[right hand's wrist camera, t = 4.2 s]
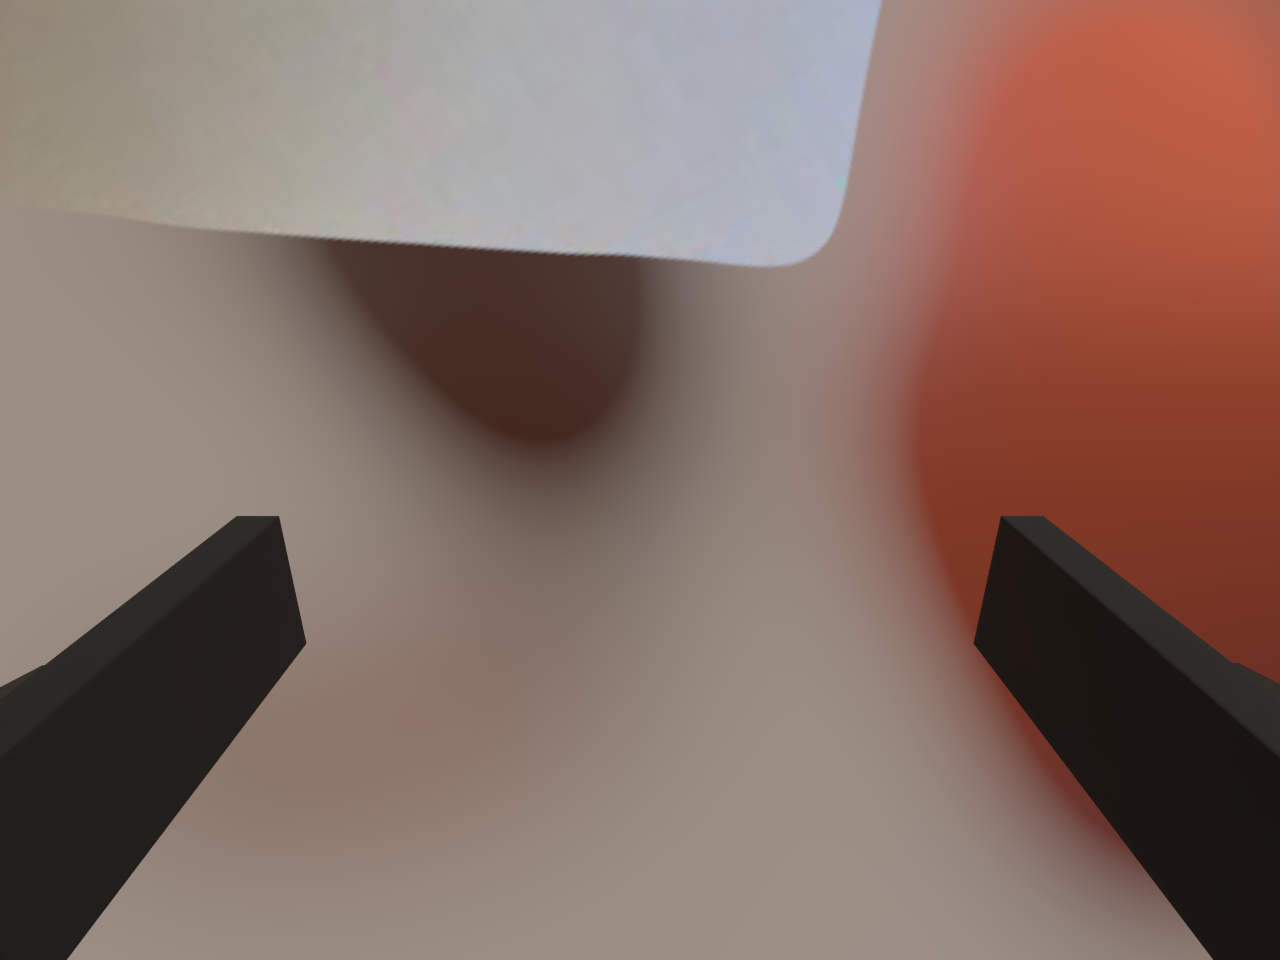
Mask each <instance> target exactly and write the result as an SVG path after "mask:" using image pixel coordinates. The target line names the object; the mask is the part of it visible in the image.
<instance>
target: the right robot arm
mask: <svg viewBox="0 0 1280 960" xmlns="http://www.w3.org/2000/svg"><path fill="white" fill-rule="evenodd" d="M305 645H306V640H305V635H304V630H303V626H302V621H301V616H300V612H299V607H298V603H297V598H296V593H295V589H294V584H293V579H292V575H291V570H290V565H289V561H288V556H287V551H286V547H285V542H284V538H283V533H282V528H281V524H280V519H279V516H237V517H235V518H234V519H233V520H231V521H230V522H229V523H227V524H226V525H225V526H224V527H222V528H221V529H220V530H218V531H217V532H216V533H214V534H213V535H212V536H211V537H209V538H208V539H207V540H205V541H204V542H203V543H202V544H200V545H199V546H198V547H196V548H195V549H194V550H193V551H191V552H190V553H189V554H187V555H186V556H185V557H184V558H182V559H181V560H180V561H178V562H177V563H176V564H175V565H173V566H172V567H171V568H169V569H168V570H167V571H166V572H164V573H163V574H162V575H160V576H159V577H158V578H156V579H155V580H154V581H153V582H151V583H150V584H149V585H148V586H146V587H145V588H144V589H142V590H141V591H140V592H138V593H137V594H136V595H135V596H133V597H132V598H131V599H129V600H128V601H127V602H126V603H124V604H123V605H122V606H120V607H119V608H118V609H117V610H115V611H114V612H113V613H111V614H110V615H109V616H108V617H106V618H105V619H104V620H102V621H101V622H100V623H99V624H97V625H96V626H95V627H93V628H92V629H91V630H90V631H88V632H87V633H86V634H84V635H83V636H82V637H81V638H79V639H78V640H77V641H75V642H74V643H73V644H71V645H70V646H69V647H68V648H66V649H65V650H64V651H62V652H61V653H60V654H59V655H57V656H56V657H55V658H54V659H52V660H51V661H50V662H48V663H47V664H46V665H42V666H40V667H38V668H37V669H35V670H33V671H31V672H29V673H27V674H25V675H23V676H21V677H19V678H17V679H15V680H13V681H11V682H10V683H8V684H6V685H4V686H2V687H0V960H67V959H68V957H69V956H70V955H71V953H72V952H73V951H74V949H75V948H76V947H77V945H78V944H79V943H80V942H81V940H82V939H83V937H84V936H85V935H86V934H87V932H88V931H89V930H90V928H91V927H92V926H93V924H94V923H95V922H96V920H97V919H98V918H99V916H100V915H101V914H102V912H103V911H104V910H105V909H106V907H107V906H108V905H109V903H110V902H111V901H112V899H113V898H114V897H115V895H116V894H117V893H118V891H119V890H120V889H121V887H122V886H123V885H124V883H125V882H126V881H127V880H128V878H129V877H130V876H131V874H132V873H133V872H134V870H135V869H136V868H137V866H138V865H139V864H140V862H141V861H142V860H143V858H144V857H145V856H146V854H147V853H148V852H149V850H150V849H151V848H152V846H153V845H154V844H155V843H156V841H157V840H158V839H159V837H160V836H161V835H162V833H163V832H164V831H165V829H166V828H167V827H168V825H169V824H170V823H171V821H172V820H173V819H174V817H175V816H176V815H177V813H178V812H179V811H180V810H181V808H182V807H183V806H184V804H185V803H186V802H187V800H188V799H189V798H190V796H191V795H192V794H193V792H194V791H195V790H196V788H197V787H198V786H199V784H200V783H201V782H202V781H203V779H204V778H205V777H206V775H207V774H208V773H209V771H210V770H211V769H212V767H213V766H214V765H215V763H216V762H217V761H218V759H219V758H220V757H221V755H222V754H223V753H224V751H225V750H226V749H227V748H228V746H229V745H230V744H231V742H232V741H233V740H234V738H235V737H236V736H237V734H238V733H239V732H240V730H241V729H242V728H243V726H244V725H245V724H246V722H247V721H248V720H249V718H250V717H251V716H252V714H253V713H254V712H255V711H256V709H257V708H258V707H259V705H260V704H261V703H262V701H263V700H264V699H265V697H266V696H267V695H268V693H269V692H270V691H271V689H272V688H273V687H274V685H275V684H276V683H277V682H278V680H279V679H280V678H281V676H282V675H283V674H284V672H285V671H286V670H287V668H288V667H289V666H290V664H291V663H292V662H293V660H294V659H295V658H296V656H297V655H298V654H299V652H300V651H301V650H302V649H303V647H304V646H305ZM974 645H975V646H976V647H977V649H978V650H979V651H980V652H981V654H982V655H983V656H984V658H985V659H986V660H987V662H988V663H989V664H990V666H991V667H992V668H993V670H994V671H995V672H996V674H997V675H998V676H999V678H1000V679H1001V680H1002V682H1003V683H1004V684H1005V685H1006V687H1007V688H1008V689H1009V691H1010V692H1011V693H1012V695H1013V696H1014V697H1015V699H1016V700H1017V701H1018V703H1019V704H1020V705H1021V707H1022V708H1023V709H1024V711H1025V712H1026V713H1027V714H1028V716H1029V717H1030V718H1031V720H1032V721H1033V722H1034V724H1035V725H1036V726H1037V728H1038V729H1039V730H1040V732H1041V733H1042V734H1043V736H1044V737H1045V738H1046V740H1047V741H1048V742H1049V744H1050V745H1051V746H1052V748H1053V749H1054V750H1055V751H1056V753H1057V754H1058V755H1059V757H1060V758H1061V759H1062V761H1063V762H1064V763H1065V765H1066V766H1067V767H1068V769H1069V770H1070V771H1071V773H1072V774H1073V775H1074V777H1075V778H1076V779H1077V780H1078V782H1079V783H1080V784H1081V786H1082V787H1083V788H1084V790H1085V791H1086V792H1087V794H1088V795H1089V796H1090V798H1091V799H1092V800H1093V802H1094V803H1095V804H1096V806H1097V807H1098V808H1099V809H1100V811H1101V812H1102V814H1103V815H1104V816H1105V817H1106V819H1107V820H1108V821H1109V823H1110V824H1111V825H1112V827H1113V828H1114V829H1115V831H1116V832H1117V833H1118V835H1119V836H1120V837H1121V839H1122V840H1123V841H1124V843H1125V844H1126V845H1127V847H1128V848H1129V849H1130V850H1131V852H1132V853H1133V854H1134V856H1135V857H1136V858H1137V860H1138V861H1139V862H1140V864H1141V865H1142V866H1143V868H1144V869H1145V870H1146V872H1147V873H1148V874H1149V875H1150V877H1151V878H1152V879H1153V881H1154V882H1155V883H1156V885H1157V886H1158V887H1159V889H1160V890H1161V891H1162V893H1163V894H1164V895H1165V897H1166V898H1167V899H1168V901H1169V902H1170V903H1171V905H1172V906H1173V907H1174V909H1175V910H1176V911H1177V912H1178V914H1179V915H1180V916H1181V918H1182V919H1183V920H1184V922H1185V923H1186V924H1187V926H1188V927H1189V928H1190V930H1191V931H1192V932H1193V934H1194V935H1195V936H1196V938H1197V939H1198V940H1199V942H1200V943H1201V944H1202V945H1203V947H1204V948H1205V949H1206V951H1207V952H1208V953H1209V955H1210V956H1211V957H1212V959H1213V960H1280V684H1278V683H1276V682H1274V681H1273V680H1271V679H1269V678H1267V677H1265V676H1263V675H1261V674H1259V673H1257V672H1255V671H1253V670H1251V669H1249V668H1247V667H1245V666H1243V665H1241V664H1239V663H1232V662H1230V661H1229V660H1228V659H1227V658H1225V657H1224V656H1223V655H1221V654H1220V653H1219V652H1217V651H1216V650H1215V649H1214V648H1212V647H1211V646H1210V645H1209V644H1207V643H1206V642H1205V641H1203V640H1202V639H1201V638H1199V637H1198V636H1197V635H1196V634H1194V633H1193V632H1192V631H1190V630H1189V629H1188V628H1187V627H1185V626H1184V625H1183V624H1181V623H1180V622H1179V621H1178V620H1176V619H1175V618H1174V617H1172V616H1171V615H1170V614H1168V613H1167V612H1166V611H1165V610H1163V609H1162V608H1161V607H1160V606H1158V605H1157V604H1156V603H1154V602H1153V601H1152V600H1151V599H1149V598H1148V597H1147V596H1145V595H1144V594H1143V593H1141V592H1140V591H1139V590H1138V589H1136V588H1135V587H1134V586H1133V585H1131V584H1130V583H1129V582H1127V581H1126V580H1125V579H1123V578H1122V577H1121V576H1120V575H1118V574H1117V573H1116V572H1114V571H1113V570H1112V569H1111V568H1109V567H1108V566H1107V565H1105V564H1104V563H1103V562H1102V561H1100V560H1099V559H1098V558H1096V557H1095V556H1094V555H1093V554H1091V553H1090V552H1089V551H1087V550H1086V549H1085V548H1084V547H1082V546H1081V545H1080V544H1078V543H1077V542H1076V541H1075V540H1073V539H1072V538H1071V537H1069V536H1068V535H1067V534H1066V533H1064V532H1063V531H1062V530H1060V529H1059V528H1058V527H1057V526H1055V525H1054V524H1053V523H1051V522H1050V521H1049V520H1048V519H1046V518H1045V517H1044V516H1001V519H1000V524H999V528H998V533H997V537H996V542H995V547H994V551H993V556H992V561H991V565H990V570H989V575H988V579H987V584H986V588H985V593H984V598H983V602H982V607H981V612H980V616H979V621H978V626H977V630H976V635H975V640H974Z"/></svg>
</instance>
